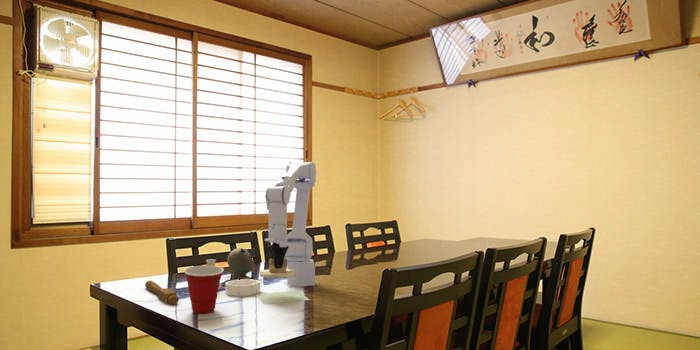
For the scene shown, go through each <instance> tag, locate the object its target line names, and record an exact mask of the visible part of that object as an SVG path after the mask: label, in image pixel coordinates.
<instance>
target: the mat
mask: <svg viewBox="0 0 700 350" xmlns="http://www.w3.org/2000/svg"><path fill="white" fill-rule="evenodd" d="M254 296H256V298H258V299H259V300H260V301H261V303H262V304H263V305H272V304H281V303H282V304H283V303H292V302H301V301H302V302H303V301H304V302H305V301H310V300H311V299H310V298H309V297H307V296H305V295H304V294H303V293H301V292H300V291H299V290H290V291H289V290H287V291H278V292H267V293H266V292H265V293H264V292H263V293H256V294H254Z"/></svg>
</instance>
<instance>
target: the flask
mask: <svg viewBox="0 0 700 350" xmlns="http://www.w3.org/2000/svg"><path fill="white" fill-rule="evenodd" d="M205 262H206V266H216V262H217V259H213V258H211V259H206V260H205ZM222 286H223V285H222V284H221V282H220V283H219V289H218V290H221V289H222V288H223V287H222Z"/></svg>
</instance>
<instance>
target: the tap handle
mask: <svg viewBox="0 0 700 350" xmlns="http://www.w3.org/2000/svg"><path fill="white" fill-rule="evenodd" d="M144 285H145V288H146V289H148V290H149V291H150V292H152V293H154V294H157V295H158V299H159V300H161V301H162V302H164V303H165V304H170V305H173V306H174V305H176V304H178V303H179V297H178V295H177V292H176V291H175V290H173V289H171V288H169V287H167V288H163V287H162V286H161V285H159V284H158V283H156V282H154V281H153V280H148V281H146V282H145V284H144Z"/></svg>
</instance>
